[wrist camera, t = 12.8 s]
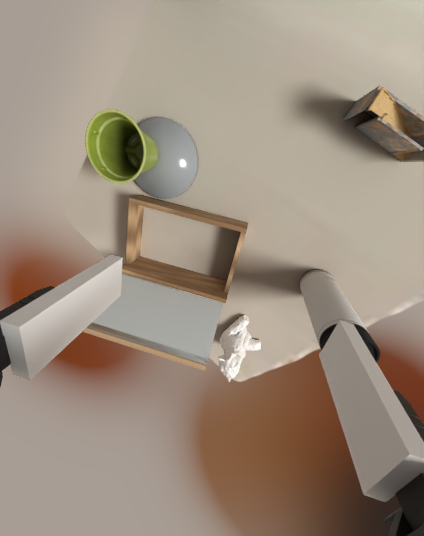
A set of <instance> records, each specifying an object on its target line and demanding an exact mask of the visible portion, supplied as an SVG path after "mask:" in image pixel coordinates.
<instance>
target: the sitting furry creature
mask: <svg viewBox="0 0 424 536" xmlns="http://www.w3.org/2000/svg"><path fill="white" fill-rule="evenodd" d="M248 323H249V318H248V316H246V315H244V316H241V317H239V318H238V319H236V321H235V322H234V323H232V325H231V326H229V327H228V328H227V329H226V330H225V331H224V332H223V334H222V335H221V337H220V339H219V340H220V344H221V347H222V348H223V351H224V355H222V356H219V357H218V360H219V367H220V370H221V372H223V374H224V375H225V376H226V377H227V379H228V382H229V381H230V380H231V378H234V377H235V376H236V375H237V373H239V369H240V363H241V361H242V358H244V357H245V350H250V351H253V350H255V351H256V350H260V349H261V343H260V340H254V339H252V337H251V336H250V334H249V332H247V329H246V326H247V324H248Z"/></svg>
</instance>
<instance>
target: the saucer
mask: <svg viewBox="0 0 424 536" xmlns="http://www.w3.org/2000/svg"><path fill="white" fill-rule="evenodd" d="M138 127H139V128H140V129H141V130H142V131H144V132H145V133H147V134H148V135H149V136H151V137H152V138H153V140H154V141H155V143H156V145H157V147H158V160H157V163H156V165H155V166H154V167H153V168H152V169H151V170H148V171H146V172H143V173H140V174H139V175H138V177H137V178H135V179H134V180H135V182H136V183H137V184H138V185H139V186H140V188H141V189H143V190H144V191H145V192H146V193H148V194H150V195H152V196H154V197H157V198H163V199H168V198H173V197H176V196H179V195H181V194H182V193H184V192H185V191H186V190H187V189H188V188H189V187H190V186H191V185H192V183H193V181H194V179H195V177H196V174H197V170H198V153H197V149H196V146H195V143H194V141H193V139H192V137H191V136H190V134H189V133H188V132H187V131H186V129H185V128H183V127H182V126H181V125H180V124H178V123H177V122H175V121H173V120H171V119H167V118H163V117H155V118H150V119H148V120H146V121H144V122H142V123H141V124H140V125H138ZM136 139H137V138H134V139H133V140H132V141H131V144H133V142H134V141H135V140H136ZM140 153H141V154H143V152H142V151H140ZM131 160H132V162H133V163H134V164H135V165H137V164H136V163H135V162H134V160H133V158H131Z"/></svg>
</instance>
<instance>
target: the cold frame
mask: <svg viewBox="0 0 424 536" xmlns="http://www.w3.org/2000/svg"><path fill="white" fill-rule="evenodd" d="M144 206H145V207H149V208H153V209H156V210H160V211H164V212H168V213H171V214H175V215H179V216H183V217H186V218H190V219H194V220H198V221H201V222H205V223H209V224H213V225H216V226H220V227H224V228H227V229H231V230H235V231H239V232H241V234H240V237H239V241H238V244H237V248H236V251H235V255H234V258H233V262H232V265H231V269H230V272H229V276H228V280H227V281H224V280H221V279H217V278H214V277H210V276H207V275H203V274H200V273H196V272H193V271H189V270H186V269H182V268H179V267H175V266H172V265H168V264H165V263H161V262H158V261H154V260H151V259H147V258H144V257H140V246H141V234H142V222H143V210H144ZM247 226H248V223H246V222H242V221H238V220H235V219H231V218H227V217H223V216H219V215H216V214H212V213H208V212H204V211H201V210H197V209H193V208H189V207H185V206H182V205H178V204H174V203H170V202H166V201H163V200H159V199H155V198H151V197H147V196H144V195H138V196H134V197H130V198H129V208H128V227H127V246H126V263H125V264H124V265H122V273H125V274H128V275H132V276H135V277H139V278H142V279H145V280H149V281H152V282H156V283H159V284H162V285H166V286H169V287H173V288H176V289H179V290H183V291H186V292H190V293H193V294H196V295H200V296H203V297H207V298H210V299H214V300H217V301H220V302H224V303H226V299H227V295H228V291H229V288H230V285H231V281H232V278H233V274H234V271H235V268H236V264H237V261H238V257H239V254H240V251H241V247H242V244H243V240H244V237H245V234H246V230H247Z"/></svg>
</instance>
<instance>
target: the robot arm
mask: <svg viewBox="0 0 424 536" xmlns="http://www.w3.org/2000/svg"><path fill="white" fill-rule="evenodd" d="M122 261H123V258H122V257H118V256H115V255H109V256H107V257H106V258H104V259H102V260H101V261H99V262H98V263H96V264H94V265H92V266H91V267H89V268H87V269H86V270H84V271H82V272H81V273H79V274H78V275H76V276H74V277H72V278H71V279H69V280H67V281H66V282H64V283H62V284H61V285H59V286H57V287H52V286H50V287H47V288H44V289H40V290H38V291H36V292H34V293H33V294H31V295H29V296H28V297H25V298H23V299H22V300H20V301H19V302H16V303H15V304H13V305H11V306H10V307H8V308H6V309H4V310H2V311H0V386H1V382H2V377H3V376H2V370H3V369H5V368H6V367H7V366H9V365H10V364H11V368H12V372H13V374H14V375H17V376H20V377H23V378H26V379H29V380H31V379H32V378H33V377H34V376H35V375H36V374H37V373H38V372H39V371H40V370H41V369H43V368H44V367H45V365H47V364H48V363H49V362H50V361H51V360H52V359H53V358H54V357H55V356H56V355H57V354H58V353H60V352H61V351H62V350H63V349H64V348H65V347H66V346H67V345H68V344H69V343H70V342H71V341H72V340H74V338H76V337H77V336H78V335H79V334H80V333H81V332H82V331H83V330H84V329H85V328H86V327H87V326H88V325H90V324H91V323H92V322H93V321H94V320H95V319H96V318H97V317H98V316H99V315H100V314H101V313H102V312H103V311H105V310H106V309H107V308H108V307H109V306H110V305H111V304H112V303H113V302H114V301H115V300H116V299H117V298H118V297H119V296H121V283H122ZM319 356H320V359H321V362H322V365H323V369H324V372H325V375H326V378H327V381H328V384H329V387H330V391H331V394H332V397H333V400H334V403H335V406H336V409H337V413H338V416H339V419H340V422H341V425H342V428H343V431H344V434H345V437H346V441H347V444H348V447H349V450H350V453H351V456H352V459H353V463H354V465H355V469H356V472H357V475H358V478H359V482H360V485H361V488H362V491H363V494H364V495H366V496H369V497H372V498H375V499H378V500H381V501H384V502H387V501H388V500H389V499H390V498H392V497H393V496H394V495H396V496H397V498H398V500H399V503H400V505H401V508H399V509H398V510H397V511H395V512H394V513H392V514H391V515H390V516H388V517H387V518H386V519H385V521H384V523H385V524H386V525H388V524H390V523H391V522H393V523H392V527H391V530H390V533H389V536H424V425H423V423H422V422H421V420H419V419H418V415H417V414H416V412H415V411H414V409H413V408H412V406H411V404H410V403H409V402H408V401H407V400H406V399H405V398H404V397H403V396H402V395H401V394H400V393H399V392H398V391H395V390H392V388H391V386H390V385H389V383H388V381H387V380H386V378H385V376H384V375H383V373H382V371H381V370H380V368H379V366H378V365H377V363H376V361H375V360H374V358H373V356H372V355H371V353H370V351H369V350H368V348H367V346H366V345H365V343H364V341H363V340H362V338H361V336H360V335H359V333H358V331H357V329H356V328H355V326H354V324H351V323H348V322H344V321H341V320H339V322H338V324H337V325H336V327H335V329H334V330H333V332H332V334H331V336H330V337H329V339H328V341H327V342H326V344H325V346H324V347H323V349H322V351H321V352H320V354H319Z"/></svg>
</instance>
